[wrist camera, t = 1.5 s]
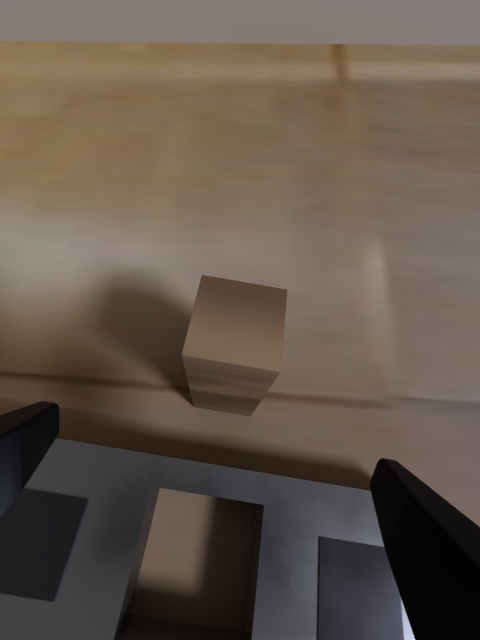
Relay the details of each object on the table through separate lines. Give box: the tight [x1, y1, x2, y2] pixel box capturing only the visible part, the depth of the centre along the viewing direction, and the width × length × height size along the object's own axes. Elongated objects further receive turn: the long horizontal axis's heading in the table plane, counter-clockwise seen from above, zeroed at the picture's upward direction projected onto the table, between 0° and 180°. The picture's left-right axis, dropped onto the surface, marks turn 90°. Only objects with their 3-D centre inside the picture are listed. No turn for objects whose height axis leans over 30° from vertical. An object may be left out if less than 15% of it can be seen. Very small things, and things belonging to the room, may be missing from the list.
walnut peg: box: [182, 275, 287, 416], centre depth 17 cm, size 4×4×10 cm
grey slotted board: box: [0, 438, 415, 640], centre depth 16 cm, size 24×9×3 cm, turn 82°
